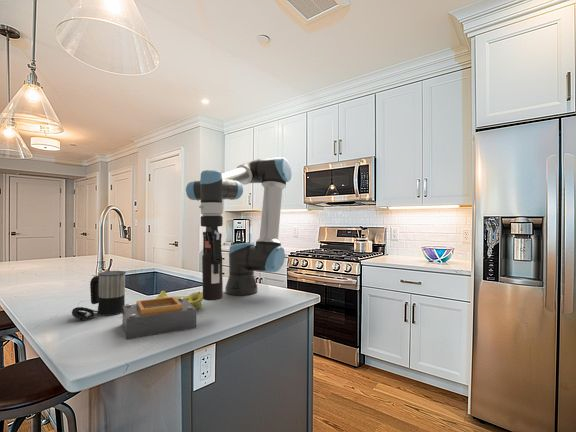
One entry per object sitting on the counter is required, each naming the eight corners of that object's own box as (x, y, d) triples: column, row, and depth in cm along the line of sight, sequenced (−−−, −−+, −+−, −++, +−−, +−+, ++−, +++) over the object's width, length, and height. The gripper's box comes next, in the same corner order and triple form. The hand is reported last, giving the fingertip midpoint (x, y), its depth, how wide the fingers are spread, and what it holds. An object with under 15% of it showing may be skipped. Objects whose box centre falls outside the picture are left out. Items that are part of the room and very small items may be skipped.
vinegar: (218, 301, 109) (217, 241, 108) (199, 300, 110) (198, 241, 109) (225, 296, 115) (224, 240, 115) (207, 295, 116) (206, 240, 116)
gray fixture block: (184, 314, 116) (184, 294, 116) (196, 327, 103) (196, 304, 103) (122, 324, 106) (122, 301, 106) (126, 339, 92) (126, 313, 92)
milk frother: (130, 308, 124) (130, 270, 124) (107, 322, 108) (108, 277, 109) (93, 309, 124) (93, 270, 124) (65, 322, 108) (65, 277, 109)
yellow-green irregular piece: (151, 304, 122) (164, 288, 131) (157, 319, 125) (169, 302, 134) (199, 303, 118) (209, 286, 127) (204, 318, 121) (213, 301, 130)
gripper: (193, 215, 119) (194, 277, 119) (209, 215, 102) (209, 287, 103) (213, 215, 123) (214, 275, 123) (231, 215, 106) (232, 285, 106)
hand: (212, 281), depth 113 cm, fingers closed on vinegar, 6 cm apart
